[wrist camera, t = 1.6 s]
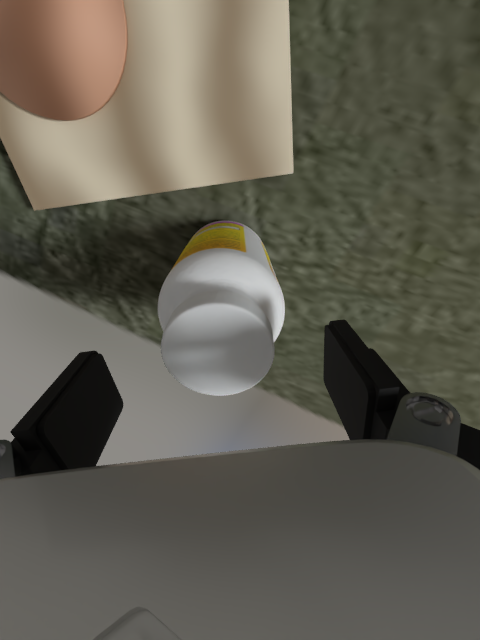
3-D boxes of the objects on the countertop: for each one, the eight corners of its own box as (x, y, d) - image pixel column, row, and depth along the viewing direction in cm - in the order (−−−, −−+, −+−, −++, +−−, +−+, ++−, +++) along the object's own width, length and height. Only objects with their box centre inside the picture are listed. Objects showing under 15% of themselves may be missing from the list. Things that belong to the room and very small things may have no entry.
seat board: (278, -172, 12) (284, -225, 11) (289, 173, 19) (294, 173, 17) (-86, -95, 13) (-133, -133, 12) (47, 208, 20) (30, 211, 18)
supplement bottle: (170, 264, 22) (101, 359, 11) (221, 199, 20) (201, 234, 9) (231, 312, 24) (226, 432, 13) (283, 258, 22) (333, 348, 11)
